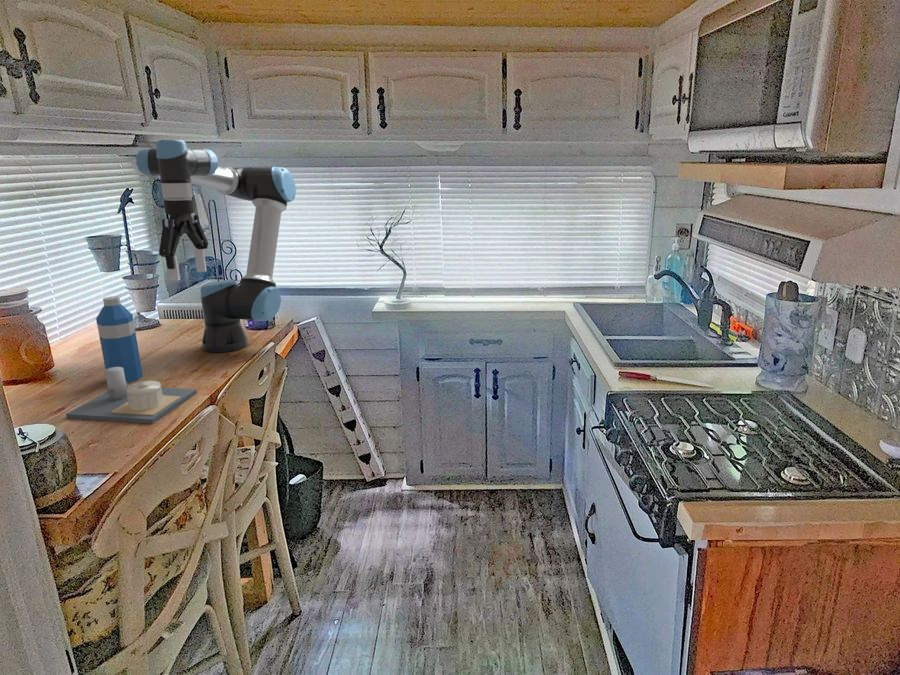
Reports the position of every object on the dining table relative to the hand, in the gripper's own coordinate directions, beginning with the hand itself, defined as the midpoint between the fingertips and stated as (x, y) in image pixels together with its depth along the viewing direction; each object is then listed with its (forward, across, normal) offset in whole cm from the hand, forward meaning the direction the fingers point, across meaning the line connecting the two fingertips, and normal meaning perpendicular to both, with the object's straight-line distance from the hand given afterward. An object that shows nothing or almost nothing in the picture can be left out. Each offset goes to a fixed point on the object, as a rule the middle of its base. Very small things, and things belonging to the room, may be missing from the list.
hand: (188, 275), depth 165 cm
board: (+32, +20, -8) cm, 38 cm away
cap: (+30, +22, -3) cm, 37 cm away
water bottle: (+32, +2, -24) cm, 40 cm away
